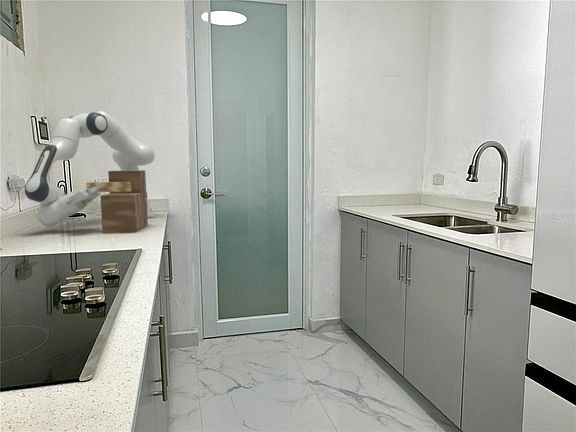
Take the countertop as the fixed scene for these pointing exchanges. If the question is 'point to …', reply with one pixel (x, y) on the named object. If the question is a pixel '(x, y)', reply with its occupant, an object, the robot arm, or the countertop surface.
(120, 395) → the countertop surface
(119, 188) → the tan rectangular block
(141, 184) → the step shelf
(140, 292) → the countertop surface
